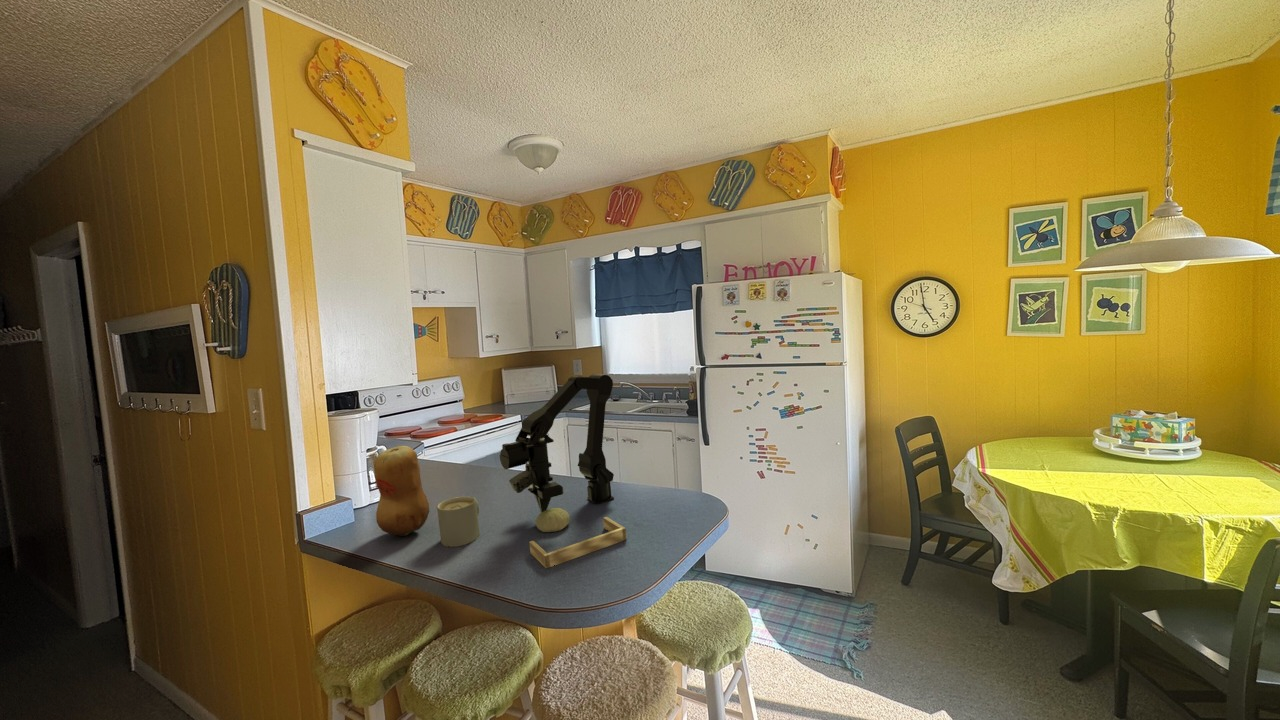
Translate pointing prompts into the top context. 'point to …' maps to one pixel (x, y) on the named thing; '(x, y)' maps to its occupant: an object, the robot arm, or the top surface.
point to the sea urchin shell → (552, 520)
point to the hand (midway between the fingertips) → (543, 512)
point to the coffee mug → (458, 521)
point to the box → (580, 545)
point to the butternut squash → (400, 491)
